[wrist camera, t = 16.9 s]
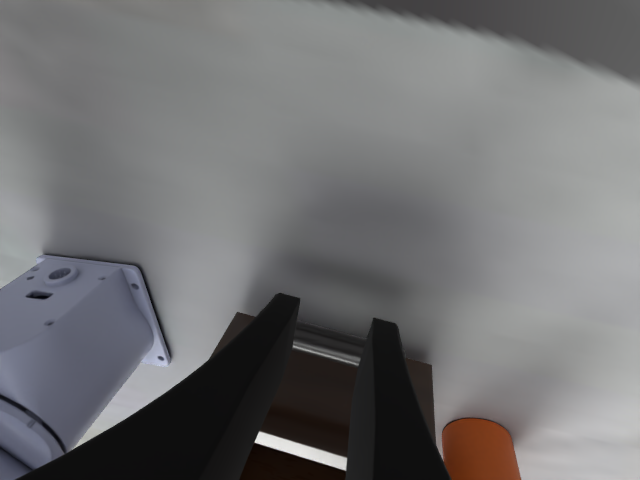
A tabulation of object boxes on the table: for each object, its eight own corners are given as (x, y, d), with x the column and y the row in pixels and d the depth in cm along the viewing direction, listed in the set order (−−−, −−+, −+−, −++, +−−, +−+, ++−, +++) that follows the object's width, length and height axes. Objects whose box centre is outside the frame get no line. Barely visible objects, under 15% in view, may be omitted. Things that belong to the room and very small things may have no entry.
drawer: (238, 257, 21) (173, 346, 15) (457, 312, 20) (474, 433, 14) (233, 427, 31) (192, 521, 25) (379, 472, 29) (371, 582, 24)
